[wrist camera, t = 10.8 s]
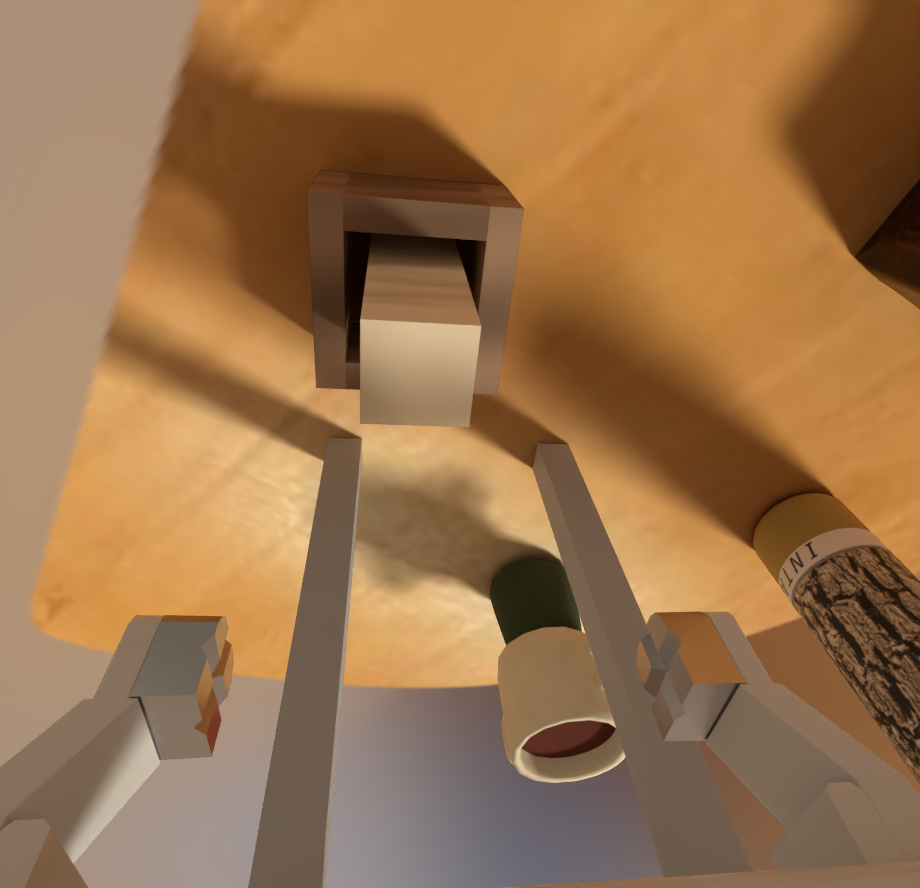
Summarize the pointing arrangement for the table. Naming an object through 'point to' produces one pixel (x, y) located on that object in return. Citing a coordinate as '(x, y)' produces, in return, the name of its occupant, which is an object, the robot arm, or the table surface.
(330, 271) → the socket
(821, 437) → the table surface
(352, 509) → the u-shaped bar frame
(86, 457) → the table surface
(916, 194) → the manual coffee grinder
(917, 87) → the table surface
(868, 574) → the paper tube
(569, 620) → the character mug
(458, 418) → the peg
